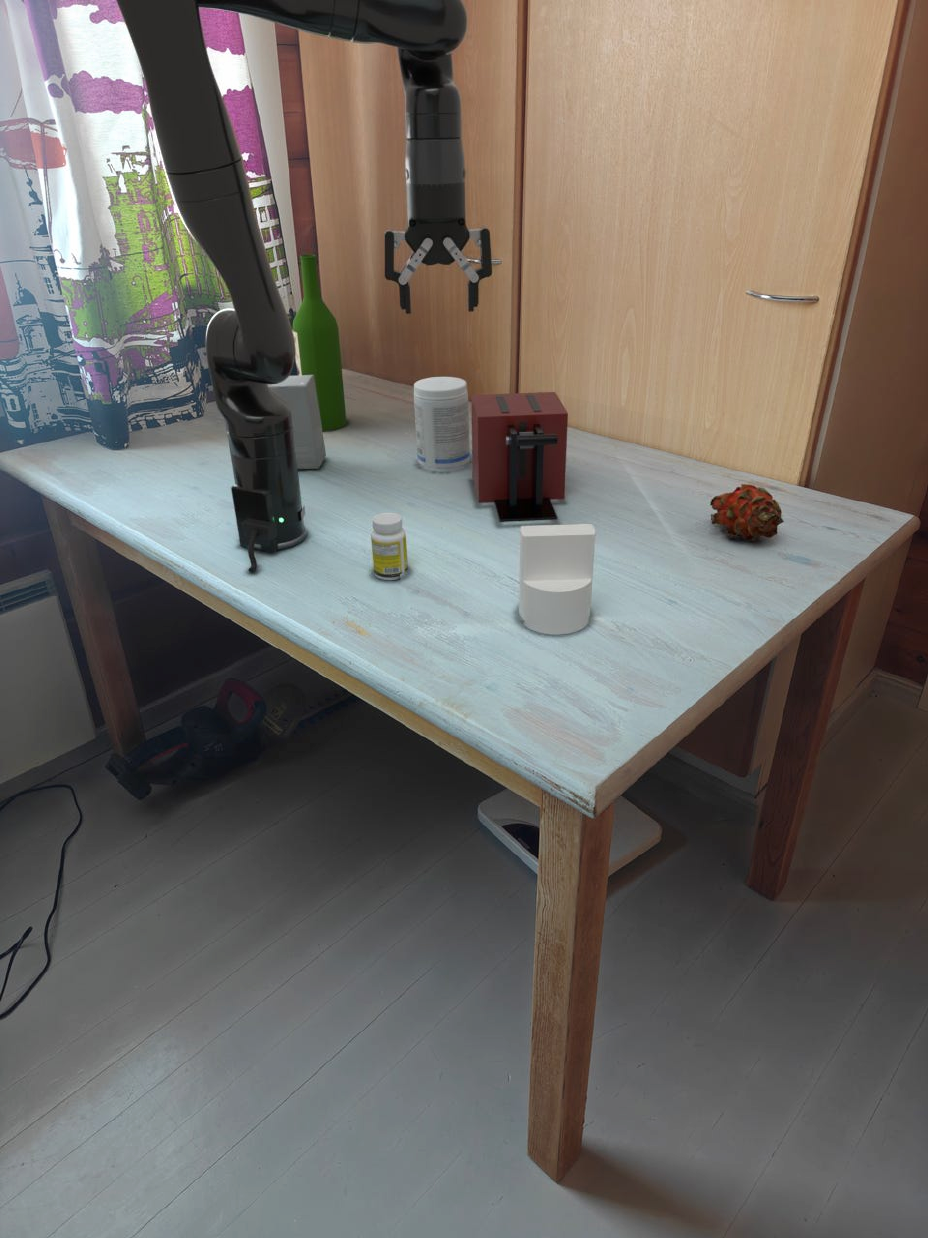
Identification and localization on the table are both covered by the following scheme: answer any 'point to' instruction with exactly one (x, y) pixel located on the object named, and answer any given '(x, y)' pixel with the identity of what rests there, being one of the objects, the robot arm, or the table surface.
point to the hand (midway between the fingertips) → (439, 311)
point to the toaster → (492, 451)
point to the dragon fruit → (747, 512)
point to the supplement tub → (442, 422)
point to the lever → (535, 440)
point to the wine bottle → (319, 348)
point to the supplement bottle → (389, 546)
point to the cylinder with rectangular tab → (556, 577)
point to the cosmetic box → (303, 418)
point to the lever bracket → (536, 505)
